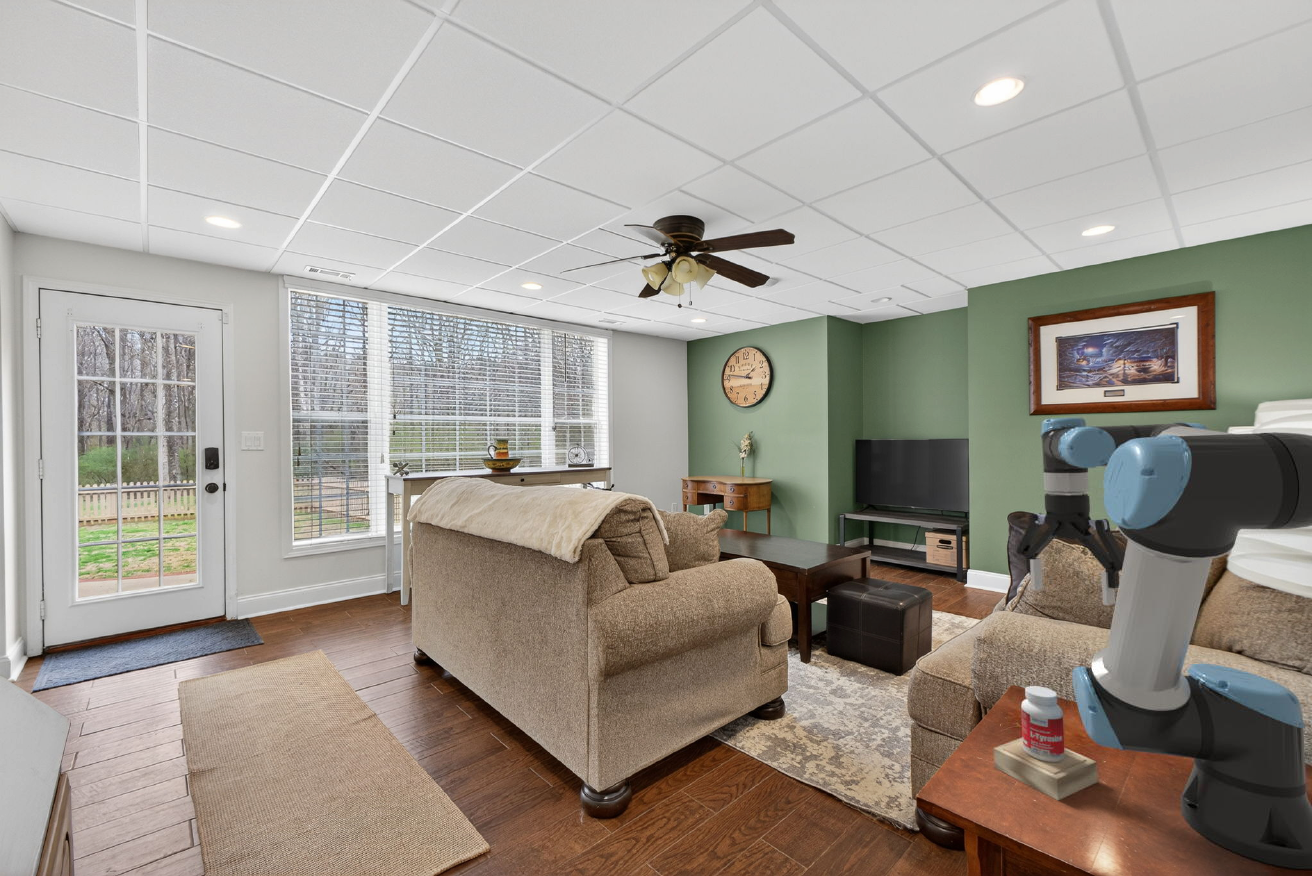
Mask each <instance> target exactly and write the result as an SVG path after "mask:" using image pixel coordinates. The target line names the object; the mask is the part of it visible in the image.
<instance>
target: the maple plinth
mask: <svg viewBox="0 0 1312 876" xmlns="http://www.w3.org/2000/svg"><path fill="white" fill-rule="evenodd" d="M1064 752H1065V756H1064V759H1063V760H1061V761H1059V762H1048V761H1043V760H1039V759H1036V758H1034V757H1032V756H1030V755H1029V754H1027V753H1026V752H1025V750H1024V749H1023V739H1022V737H1020V738H1017V739H1014V740H1011V741H1008V742H1007V743H1004V744H1000V745H999V746H996V747H995V746H994V747H993V762H994V763H993V766H994V769H995V770H998V771H1000V772H1003V773H1005V774H1006V775H1008V776H1010V777H1011V778H1014V779H1016V780H1017V781H1020V782H1022V783H1024V784H1026V785H1027V786H1029V787H1031V788H1033V789H1035V790H1037V791H1039V792H1041V793H1043V794H1045V795H1046V796H1049V797H1051V798H1053V799H1054V800H1056V801H1060V800H1063V799H1065V798H1066V797H1069V796H1070V795H1071V796H1072V795H1073V794H1076V793H1077V792H1080V791H1082V790H1083V789H1085V788H1086V789H1087V787H1090V786H1093V785H1095V784H1096V783H1098V770H1097V769H1098V767H1097V761H1096V760H1093V759H1091V758H1089V757H1086V756H1085V755H1082V754H1080V753H1077V752H1075V751H1073V750H1070V749H1068V748H1066V747H1064Z"/></svg>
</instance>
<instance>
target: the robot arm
mask: <svg viewBox="0 0 1312 876" xmlns="http://www.w3.org/2000/svg"><path fill="white" fill-rule="evenodd" d="M1040 438H1041V449H1042V463H1043V464H1042V467H1043V487H1044V488H1043V490H1044V491H1045V492H1047V493H1045V494H1044V509H1045V511H1046V514H1042V513H1041V512H1037V513H1031V514H1030V516H1029V524H1028V526H1027V528H1026V530H1025V533H1024V535H1023V536H1022V538H1021V541H1020V543H1019V545H1018V547H1017V548H1016V553H1017V554H1018V555H1022V556H1023V557H1024V558H1025V559H1026V572H1027V573H1028V574H1030V589H1031V590H1033V591H1038V590H1043V585H1044V584H1043V572H1042V571H1043V569H1042V568H1043V566H1042V564H1043V562H1042V558H1040V557H1039V555H1040V554H1041V553H1042V552H1043V550H1045V549H1046V548H1047V547H1048V546H1049V545H1050V544H1051V542H1053V540H1054V539H1055V538H1060V539H1065V538H1066V539H1069V540H1072V541H1073V540H1078V541H1079V542H1080V543H1082V544H1083V545H1084V547H1086V549H1088V551H1089V552H1090V553H1091V554H1092V556H1093V557H1094V558H1095V559H1096V560H1097V561H1098V562H1099V563H1100V565H1102V567H1103V568H1104V569H1105V570H1101V573H1100V574H1101V590H1102V591H1101V593H1102V594H1101V595H1102V605H1103V606H1110V605H1114V609H1113V615H1112V620H1111V625H1110V630H1109V634H1108V641H1107V645H1106V647H1105V648H1102V649H1100V650H1098V651H1097V652H1096V653H1095V654H1094V655H1093V656H1092V659H1091V663H1090V666H1089V667H1087V666H1086V665H1082V666H1075V667H1074V668H1073V669H1072V685H1073V693H1074V697H1075V700H1076V705H1077V708H1078V712H1079V715H1080V718H1081V721H1082V724H1083V727H1084V729H1085V732H1086V734H1087V735H1088V737H1089V738H1090V739H1091V740H1092V742H1094V743H1096V744H1097V745H1099V746H1101V747H1104V748H1105V747H1106V748H1111V749H1112V748H1113V749H1115V750H1116V749H1118V750H1120V751H1121V752H1123V751H1129V752H1139V753H1148V754H1155V755H1156V754H1157V755H1164V756H1174V757H1181V758H1183V757H1184V758H1191V759H1193V767H1192V770H1191V773H1190V775H1189V776H1188V779H1187V782H1186V784H1185V786H1184V789H1183V792H1182V794H1181V797H1180V806H1181V815H1182V818H1183V819H1184V820H1185V822H1186V823H1187V824H1188V825H1189V826H1190V827H1191V828H1192V829H1193V830H1195V831H1196V832H1197V833H1198V834H1200V835H1202V836H1203V837H1205V838H1206V839H1207V840H1209V841H1211V842H1213V843H1215V844H1216V845H1219V846H1221V847H1222V848H1225V849H1227V850H1229V851H1232V852H1234V853H1236V854H1238V855H1241V856H1243V857H1247V858H1248V859H1252V860H1255V861H1258V862H1262V863H1265V864H1269V865H1273V866H1277V867H1278V866H1279V867H1283V868H1289V869H1296V870H1297V869H1299V870H1311V869H1312V805H1311V802H1310V800H1309V798H1308V795H1307V794H1308V793H1307V783H1306V782H1307V779H1306V778H1307V777H1306V758H1305V757H1306V756H1305V754H1306V753H1305V736H1304V734H1305V733H1304V728H1305V727H1306V725H1305V722H1304V717H1303V713H1302V708H1301V702H1300V699H1299V698H1298V696H1296V694H1295V693H1294V692H1292V691H1291V690H1290V689H1288V688H1287V687H1285V686H1284V685H1282V684H1280V683H1277V682H1275V681H1274V680H1271V679H1268V678H1265V677H1263V676H1260V675H1257V674H1256V673H1255V674H1254V673H1251V672H1248V671H1244V670H1241V669H1238V668H1233V667H1229V666H1223V665H1219V664H1212V663H1202V662H1200V663H1193V664H1191V665H1190V666H1189V668H1188V669H1187V674H1188V675H1184V674H1183V673H1182V672H1183V671H1182V670H1183V668H1184V663H1185V660H1186V657H1187V653H1188V650H1189V646H1190V642H1191V638H1192V635H1193V631H1194V629H1195V625H1196V621H1197V617H1198V613H1199V609H1200V606H1201V603H1202V599H1203V596H1204V592H1205V588H1206V584H1207V581H1208V578H1209V573H1210V570H1211V566H1212V563H1213V559H1217V558H1220V557H1223V556H1225V555H1227V554H1229V553H1230V552H1231V551H1232V550H1233V548H1234V547H1235V545H1236V540H1237V538H1238V537H1237V536H1238V535H1239V534H1238V533H1239V531H1241V530H1292V529H1301V528H1308V527H1311V526H1312V435H1309V434H1302V433H1293V432H1276V431H1275V432H1259V433H1232V432H1224V431H1217V430H1210V429H1208V428H1207V427H1206V426H1205V424H1202V423H1199V422H1198V423H1197V422H1196V423H1195V422H1173V423H1157V424H1156V423H1155V424H1136V425H1134V424H1132V425H1131V424H1129V425H1100V426H1099V425H1098V426H1091V425H1090V426H1087V423H1086V420H1085V419H1084V418H1083V417H1060V418H1059V417H1058V418H1046V419H1044V420H1043V421H1042V423H1041V434H1040ZM1097 467H1106V468H1105V471H1104V476H1103V483H1102V487H1103V489H1104V492H1103V497H1102V499H1103V505H1104V509H1105V512H1106V514H1107V516H1108V518H1109V520H1110V521H1111V522H1112V523H1114V524H1115V525H1116V528H1117V529H1118V531H1119V532H1120V534H1121V535H1122V536H1123V537H1124V538H1125V539H1127V542H1126V547H1125V552H1123V550H1122V548H1121V547H1120V544H1119V542H1118V541H1117V540H1116V538H1115V536H1114V534H1113V532H1112V531H1111V528H1110V521H1109V520H1108V519H1107V518H1101V519H1091V516H1090V513H1091V505H1090V504H1091V503H1090V501H1091V500H1090V495H1089V494H1087V492H1089V491H1090V485H1089V469H1094V468H1097ZM1043 524H1046V525H1047V526H1048V528H1047V529H1046V530H1045V531H1044V532H1043V533H1042V535H1041V536H1040V538H1039V539H1037V535H1039V532H1040V530H1041V528H1042V526H1043ZM1091 528H1093V530H1094V531H1096V534H1097V536H1098V538H1099V539H1100V541H1101V543H1102V544H1103V546H1104V547H1103V546H1102V545H1101V544H1100V543H1099V541H1098V540H1096V538H1095V535H1094V534H1093V533H1092V532H1091V531H1090V529H1091ZM1036 539H1037V541H1036V542H1035V540H1036ZM1034 542H1035V543H1034ZM1033 543H1034V544H1033ZM1124 553H1125V554H1124ZM1120 571H1121V572H1120ZM1119 573H1121V574H1120V575H1119ZM1117 588H1118V589H1117ZM1115 589H1117V593H1116V594H1117V595H1115ZM1115 598H1116V599H1115Z"/></svg>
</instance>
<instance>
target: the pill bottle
mask: <svg viewBox="0 0 1312 876" xmlns="http://www.w3.org/2000/svg"><path fill="white" fill-rule="evenodd" d="M1024 692H1025V694H1024V695H1025V699H1024V700H1023V701H1021V706H1020V707H1021V708H1020V709H1021V711H1020V713H1021V733H1022V737H1021V738H1022V739H1023V749H1024V750H1025V752H1026V753H1027V754H1029V755H1030V756H1032V757H1034V758H1036V759H1039V760H1043V761H1048V762H1059V761H1061V760H1063V759H1064V756H1065V752H1064V748H1065V734H1064V733H1065V729H1064V712H1063V709H1062V708H1061V707H1060V705H1058V704H1057V703H1058V694H1057V692H1055V691H1054V690H1052V688H1048V687H1045V686H1038V685H1036V686H1035V685H1030V686H1026V687H1025V689H1024Z"/></svg>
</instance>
